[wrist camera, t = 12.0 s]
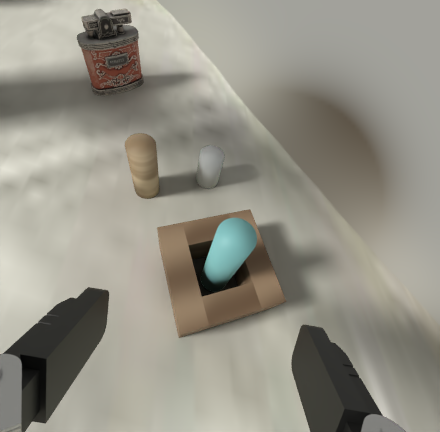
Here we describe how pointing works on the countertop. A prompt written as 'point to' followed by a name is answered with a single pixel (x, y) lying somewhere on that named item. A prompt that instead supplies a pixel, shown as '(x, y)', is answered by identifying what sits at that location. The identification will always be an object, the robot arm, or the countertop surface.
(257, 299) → the walnut block
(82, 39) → the lighter
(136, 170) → the beech pin
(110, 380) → the countertop surface
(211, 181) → the grey pin
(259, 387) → the countertop surface
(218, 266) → the teal pin
